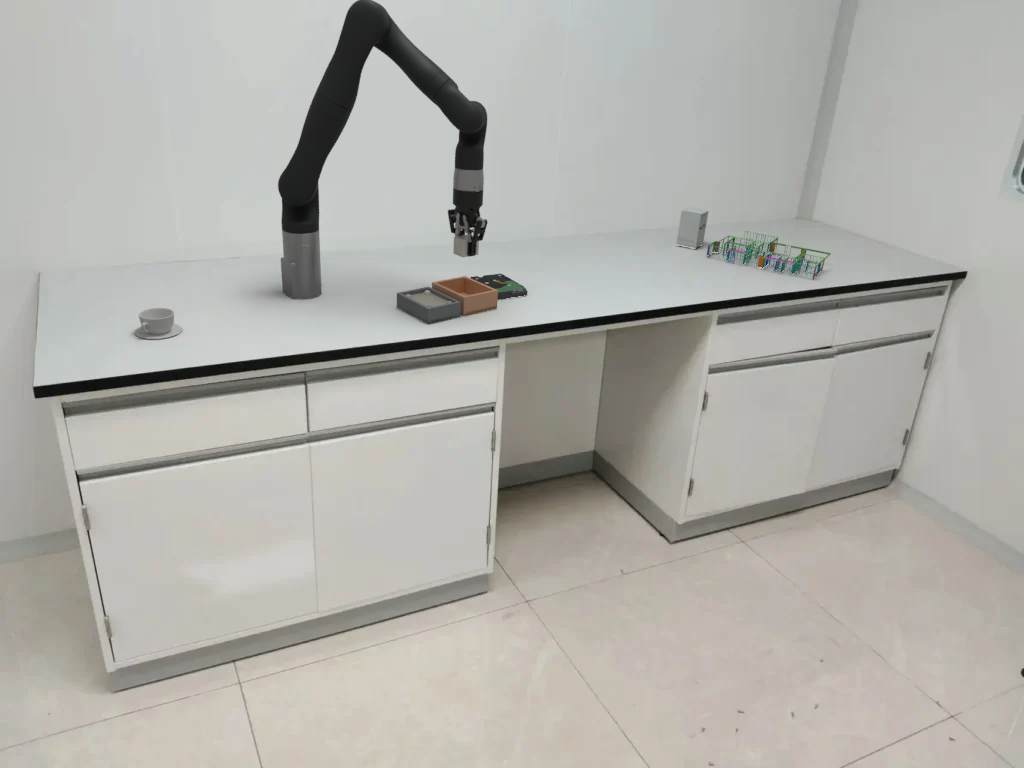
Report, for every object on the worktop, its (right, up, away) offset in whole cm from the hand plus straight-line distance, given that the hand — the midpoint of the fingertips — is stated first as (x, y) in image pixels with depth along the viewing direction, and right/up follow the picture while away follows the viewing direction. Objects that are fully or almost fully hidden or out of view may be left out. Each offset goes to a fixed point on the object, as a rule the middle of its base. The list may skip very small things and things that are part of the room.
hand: (465, 253), depth 209 cm
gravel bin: (-10, -15, -1) cm, 18 cm away
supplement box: (+74, +14, +74) cm, 106 cm away
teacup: (-69, -22, -23) cm, 76 cm away
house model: (+99, +8, +65) cm, 119 cm away
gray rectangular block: (0, 0, 0) cm, 0 cm away
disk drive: (+8, -8, +19) cm, 22 cm away
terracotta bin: (-1, -13, +6) cm, 14 cm away
